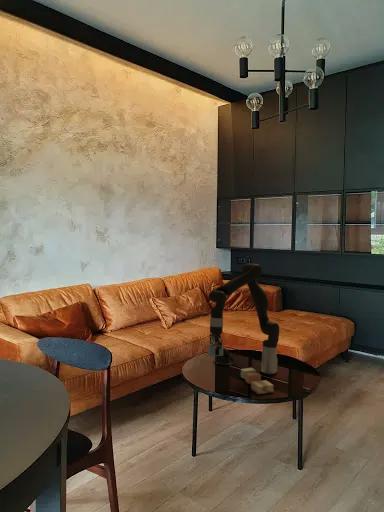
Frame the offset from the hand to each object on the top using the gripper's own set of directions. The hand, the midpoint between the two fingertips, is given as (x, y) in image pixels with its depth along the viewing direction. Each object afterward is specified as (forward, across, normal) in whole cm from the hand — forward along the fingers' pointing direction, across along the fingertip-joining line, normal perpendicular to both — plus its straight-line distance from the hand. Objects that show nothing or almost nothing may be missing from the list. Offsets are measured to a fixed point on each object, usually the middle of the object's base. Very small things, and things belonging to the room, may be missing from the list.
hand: (215, 353), depth 227 cm
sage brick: (+19, +7, -26) cm, 33 cm away
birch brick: (+19, -14, -24) cm, 34 cm away
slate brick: (+1, 0, 0) cm, 1 cm away
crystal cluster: (+20, +36, -24) cm, 48 cm away
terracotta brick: (+19, -1, -25) cm, 32 cm away
